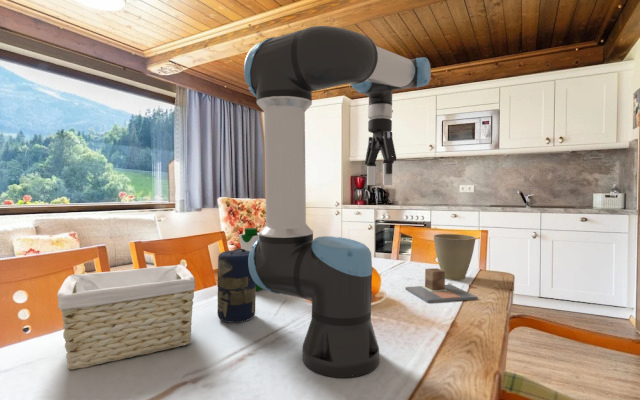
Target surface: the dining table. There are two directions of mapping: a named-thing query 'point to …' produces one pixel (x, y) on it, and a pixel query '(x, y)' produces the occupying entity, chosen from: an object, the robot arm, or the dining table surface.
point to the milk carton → (249, 242)
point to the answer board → (441, 294)
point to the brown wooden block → (435, 279)
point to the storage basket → (125, 313)
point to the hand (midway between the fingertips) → (378, 185)
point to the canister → (235, 287)
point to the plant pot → (454, 254)
